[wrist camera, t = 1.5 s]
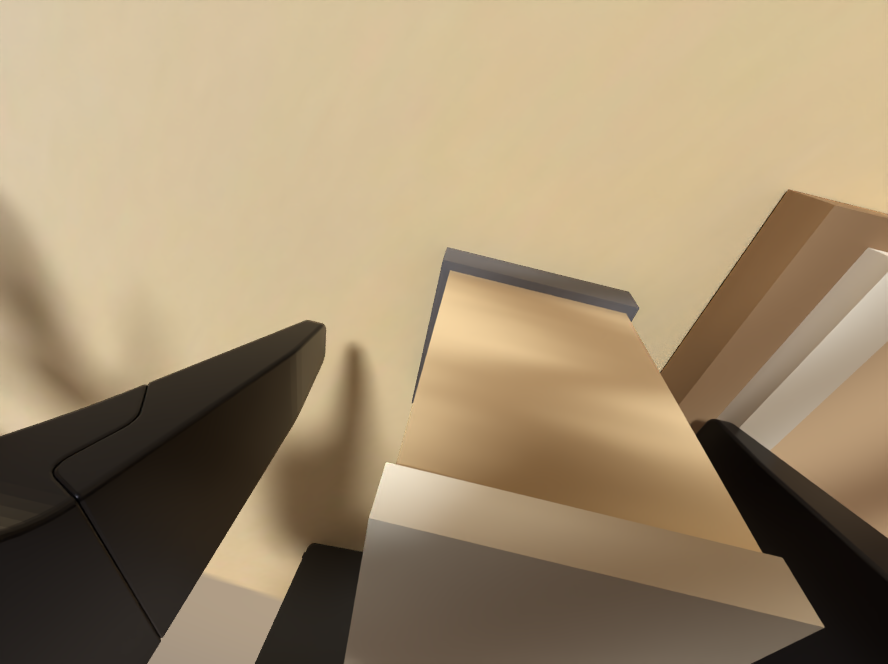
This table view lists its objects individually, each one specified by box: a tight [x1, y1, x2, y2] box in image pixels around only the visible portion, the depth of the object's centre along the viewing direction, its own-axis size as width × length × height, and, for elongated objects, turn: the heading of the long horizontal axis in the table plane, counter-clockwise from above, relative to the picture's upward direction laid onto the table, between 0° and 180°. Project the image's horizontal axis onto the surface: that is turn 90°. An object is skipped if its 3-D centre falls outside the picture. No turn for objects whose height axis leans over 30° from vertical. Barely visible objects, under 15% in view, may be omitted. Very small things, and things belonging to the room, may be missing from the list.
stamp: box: [344, 247, 825, 664], centre depth 7 cm, size 4×4×7 cm
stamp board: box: [660, 190, 888, 538], centre depth 11 cm, size 12×18×2 cm, turn 168°
